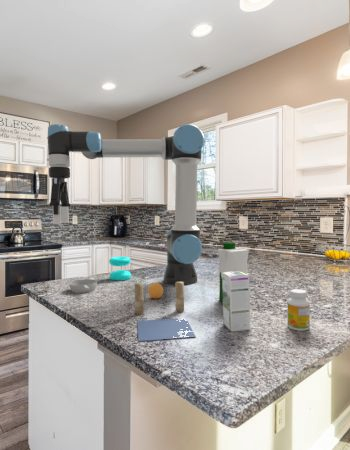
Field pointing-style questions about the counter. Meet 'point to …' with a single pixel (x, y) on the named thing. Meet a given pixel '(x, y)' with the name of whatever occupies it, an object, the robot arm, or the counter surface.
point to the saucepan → (83, 285)
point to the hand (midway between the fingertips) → (61, 223)
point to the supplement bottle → (298, 310)
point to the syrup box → (236, 300)
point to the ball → (155, 290)
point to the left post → (139, 299)
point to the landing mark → (162, 329)
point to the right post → (179, 296)
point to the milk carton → (231, 261)
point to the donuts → (120, 273)
